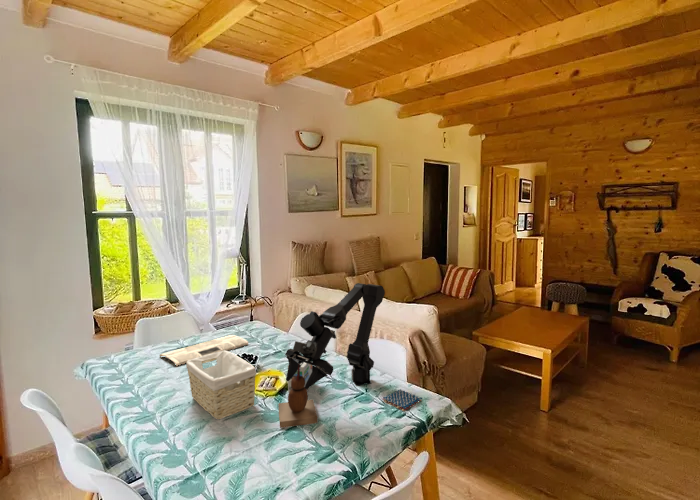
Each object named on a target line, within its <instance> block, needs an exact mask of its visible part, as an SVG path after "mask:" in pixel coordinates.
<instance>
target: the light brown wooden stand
mask: <svg viewBox="0 0 700 500" xmlns="http://www.w3.org/2000/svg"><path fill="white" fill-rule="evenodd" d="M314 401H315V400H314V398H313V399H308V400H307V403H306V406H305V408H304V410H302V411H300V412H293V411H292V410H291V409H290V407H289V404H288V401H287V402H280V403H277V406H278V419H279V420H278V421H279V428H280V429H281V428H282V429H283V428H290V427H298V426H304V425H305V426H306V425H312V424H318V423H319V419H318V418H319V417H318V412H317V409H316V406H315V402H314Z"/></svg>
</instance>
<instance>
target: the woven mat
mask: <svg viewBox="0 0 700 500" xmlns="http://www.w3.org/2000/svg"><path fill="white" fill-rule="evenodd" d="M382 400H383V401H382V403H385V404H386V405H390V406H392V407H394V408H396V409H399V411H402V412H405V411H408V410H409V409H410V408H412V407H414V406H415V405H417V404H419V403H420V401H421V402H422V397H419V396H418V395H417V396H416V395H415V394H412V393H411V392H409V391H406V390H404V389H397V390H396V391H394V392H391V393H389V394H388V395H386V396H383V398H382ZM418 401H419V402H418ZM416 403H417V404H416ZM413 405H414V406H413ZM410 406H411V407H410Z"/></svg>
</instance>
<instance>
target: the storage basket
mask: <svg viewBox="0 0 700 500" xmlns="http://www.w3.org/2000/svg"><path fill="white" fill-rule="evenodd" d="M213 361H215V362H216V364H215V365H213V366H209V367H206V368H203V364H206V363H210V362H213ZM185 368H186V369H187V374H188V377H189V378H188V379H189V387H190V393H191V398H193V399H194V401H196V402H197V404H199V406H201V408H203V409H204V410H205V411H206V412H207V413H208V414H210V416H212V418H214V419H216V420H222V419H225V418H227V417H229V416H231V415H235V414H237V413H240V412H242V411H244V410H248V409H250V408H251V407H254V405H255V399H256V398H255V397H256V396H255V395H256V394H255V393H256V392H255V391H256V375H257V371H256V368H255V366H254V365H252V364H251V363H249V362H248V361H247V360H245V359H243V358H241V357H240V356H238V355H237V354H235V353H233V352H231V351H230V350H228V351H225V350H224V351H220V352H216V353H212V354H208V355H205V356H201V357H197V358H195V359H191V360H188V361H187V363H186V367H185Z"/></svg>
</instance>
